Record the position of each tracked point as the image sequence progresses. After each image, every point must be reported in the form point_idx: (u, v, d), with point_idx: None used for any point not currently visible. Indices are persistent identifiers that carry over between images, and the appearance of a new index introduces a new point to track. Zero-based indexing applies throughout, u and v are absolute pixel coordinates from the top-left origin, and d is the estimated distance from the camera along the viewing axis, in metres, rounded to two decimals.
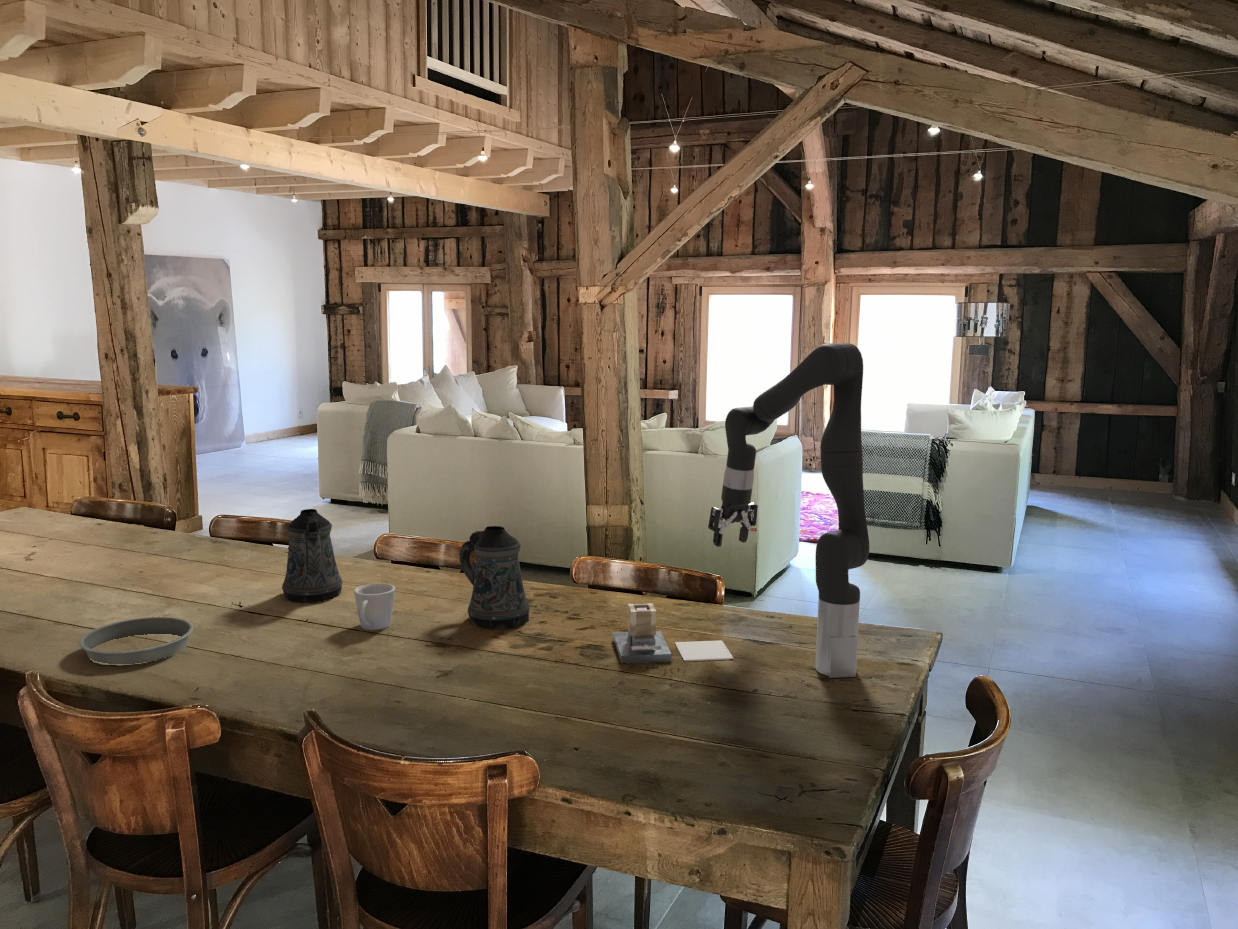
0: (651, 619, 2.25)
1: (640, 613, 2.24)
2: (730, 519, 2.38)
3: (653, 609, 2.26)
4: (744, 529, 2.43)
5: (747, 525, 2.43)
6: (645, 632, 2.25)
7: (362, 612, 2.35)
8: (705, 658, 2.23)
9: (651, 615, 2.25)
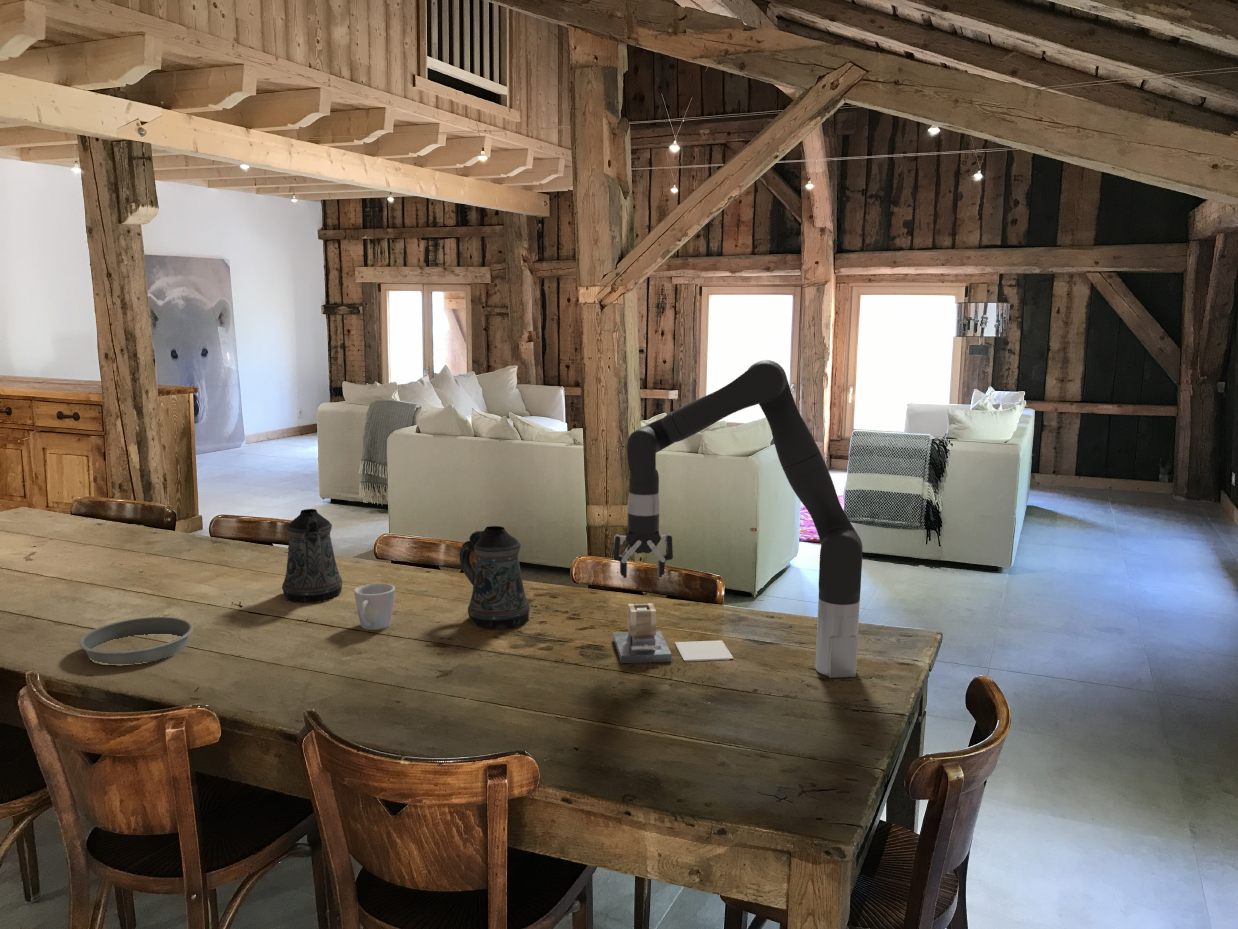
0: (651, 619, 2.25)
1: (640, 613, 2.24)
2: (633, 548, 2.23)
3: (653, 609, 2.26)
4: (659, 562, 2.25)
5: (660, 558, 2.24)
6: (645, 632, 2.25)
7: (362, 612, 2.35)
8: (705, 658, 2.23)
9: (651, 615, 2.25)
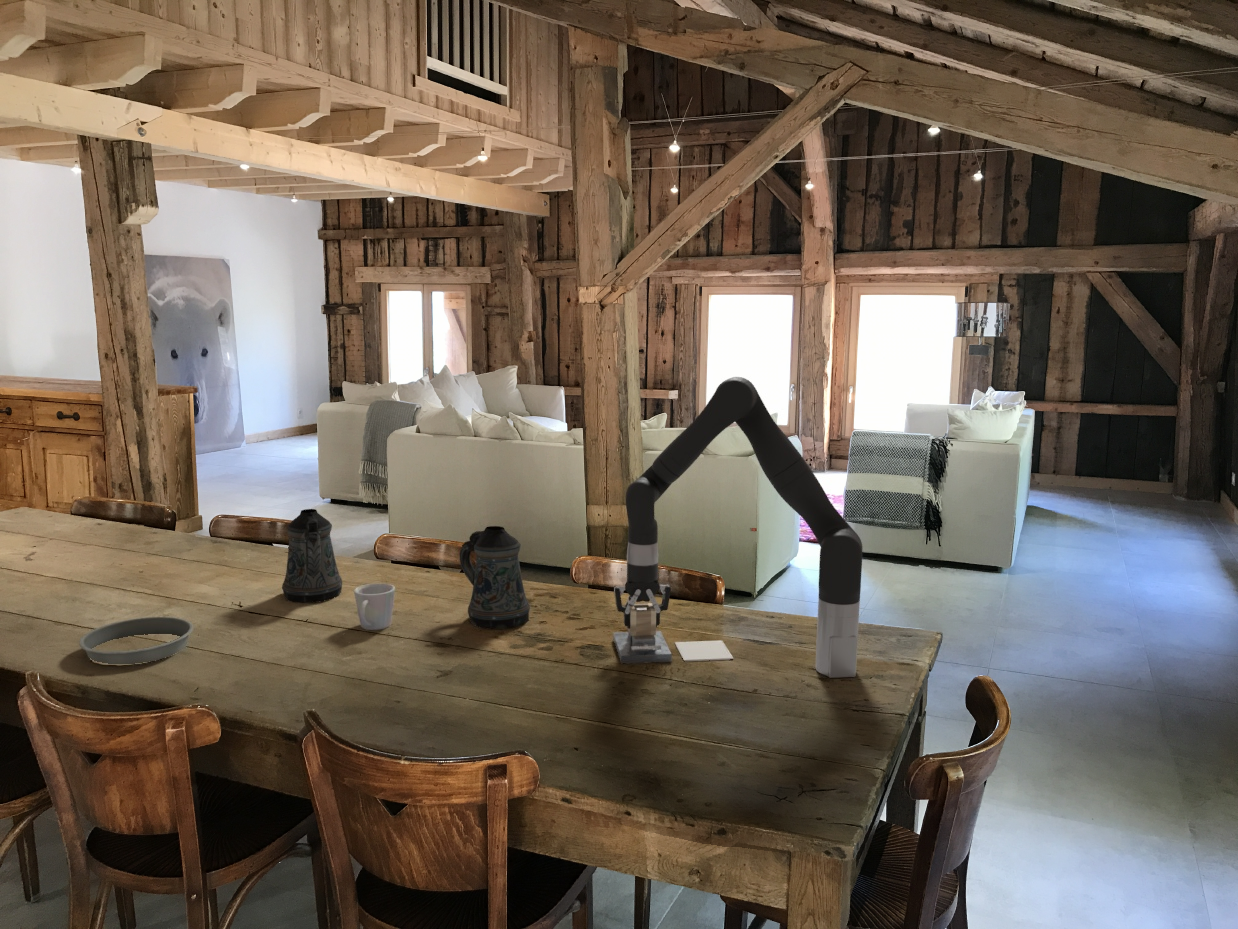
0: (651, 619, 2.25)
1: (640, 613, 2.24)
2: (634, 598, 2.25)
3: (653, 609, 2.26)
4: None
5: (656, 608, 2.26)
6: (645, 632, 2.25)
7: (362, 612, 2.35)
8: (705, 658, 2.23)
9: (651, 615, 2.25)
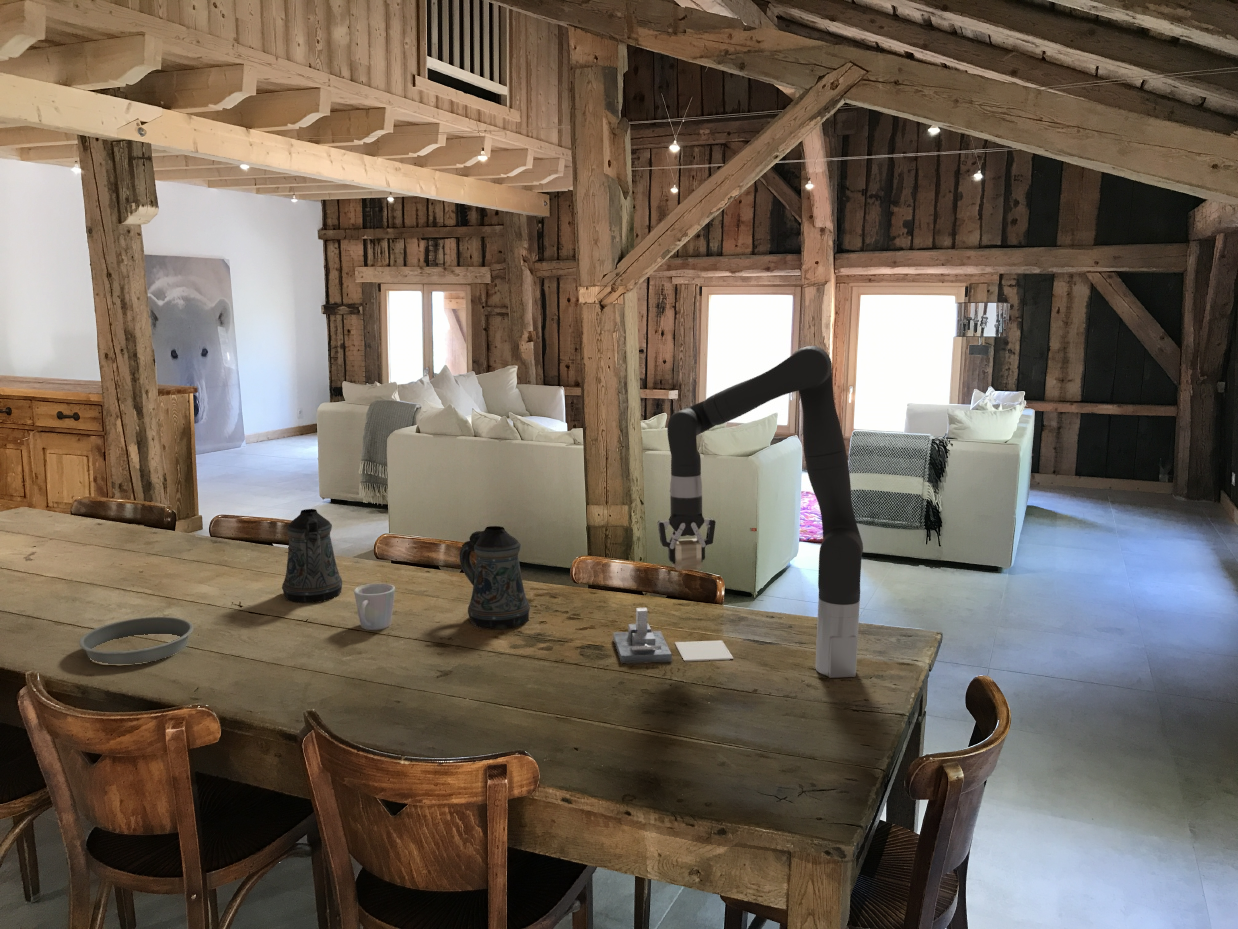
0: (696, 553, 2.22)
1: (685, 547, 2.21)
2: (678, 532, 2.22)
3: (698, 543, 2.23)
4: None
5: (701, 542, 2.23)
6: (690, 566, 2.22)
7: (362, 612, 2.35)
8: (705, 658, 2.23)
9: (696, 548, 2.22)
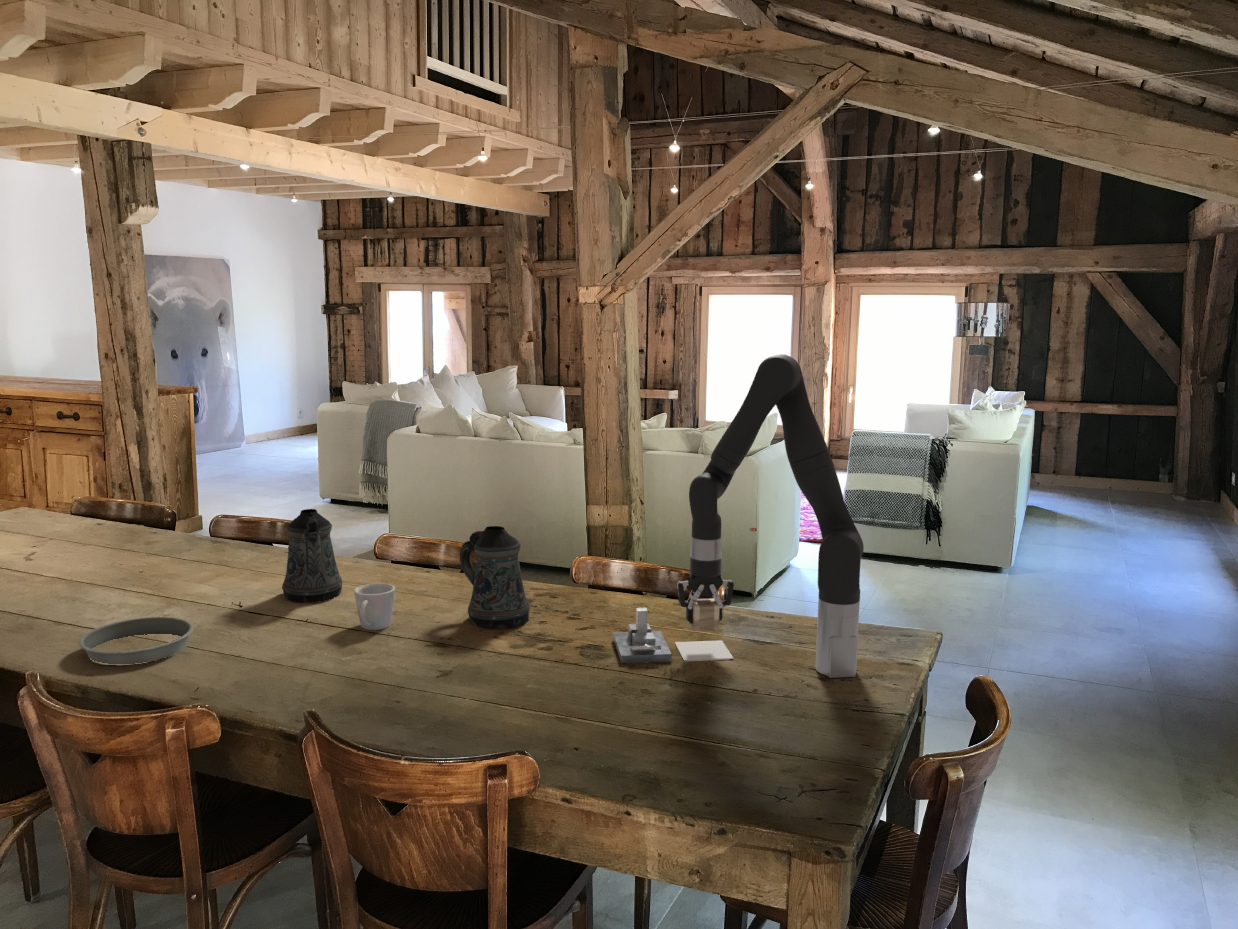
0: (714, 614, 2.25)
1: (703, 608, 2.24)
2: (697, 593, 2.24)
3: (716, 604, 2.25)
4: None
5: (718, 603, 2.26)
6: (708, 627, 2.25)
7: (362, 612, 2.35)
8: (705, 658, 2.23)
9: (714, 610, 2.24)
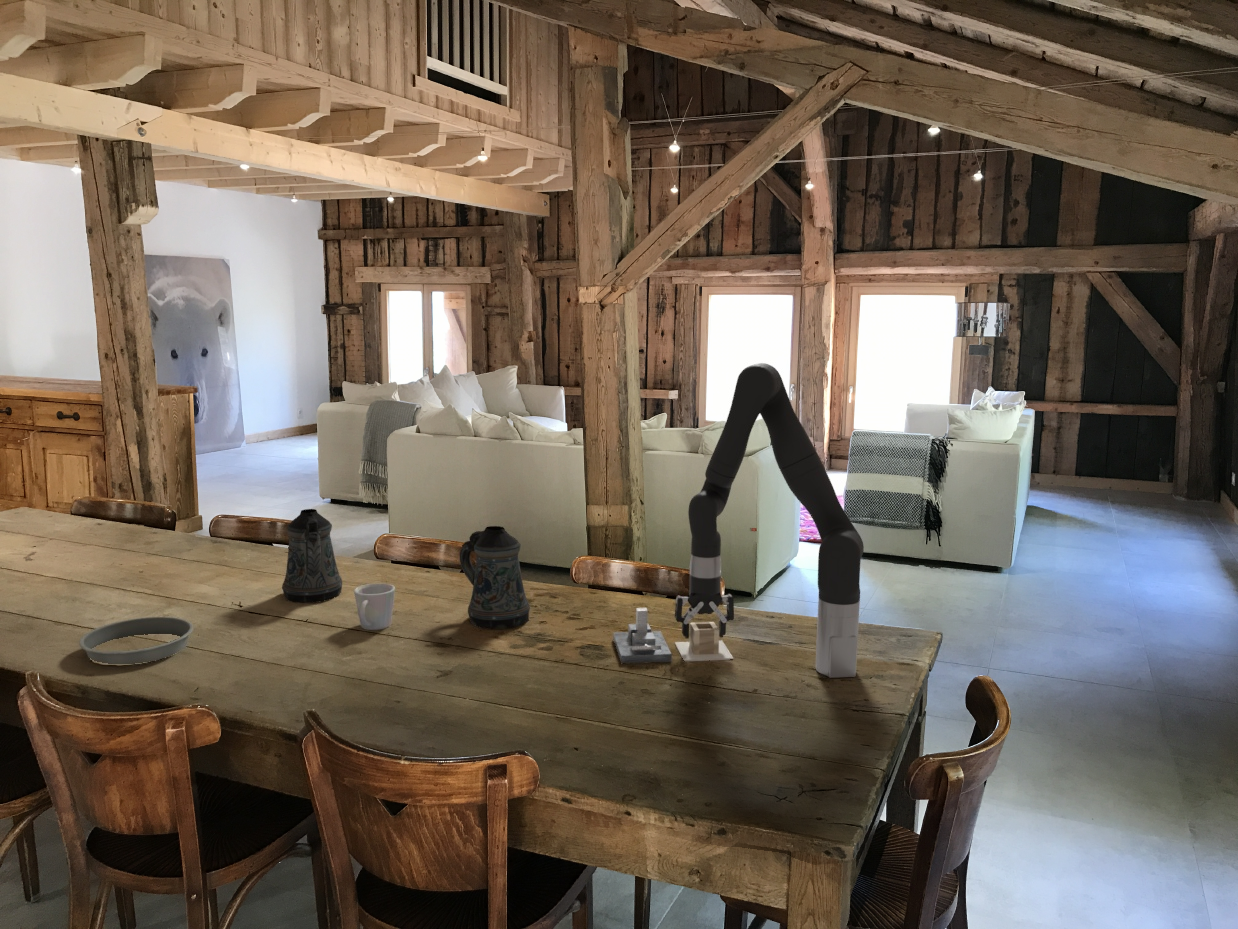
0: (714, 638, 2.26)
1: (703, 632, 2.25)
2: (695, 609, 2.25)
3: (716, 628, 2.26)
4: (720, 623, 2.28)
5: (721, 618, 2.27)
6: (708, 651, 2.26)
7: (362, 612, 2.35)
8: (705, 658, 2.23)
9: (714, 634, 2.25)
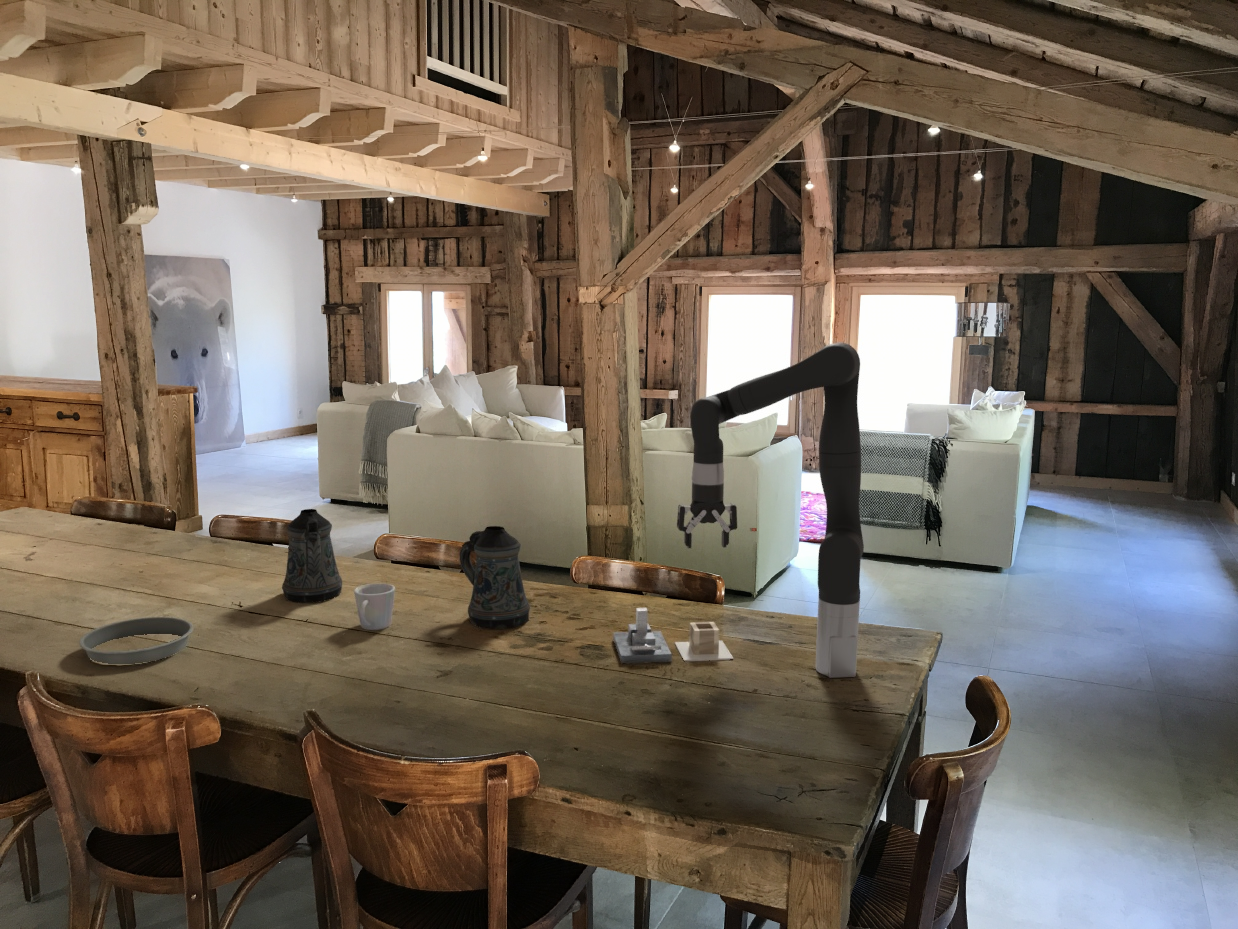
0: (714, 638, 2.26)
1: (703, 632, 2.25)
2: (698, 518, 2.22)
3: (716, 628, 2.26)
4: (723, 532, 2.25)
5: (724, 528, 2.24)
6: (708, 651, 2.26)
7: (362, 612, 2.35)
8: (705, 658, 2.23)
9: (714, 634, 2.25)
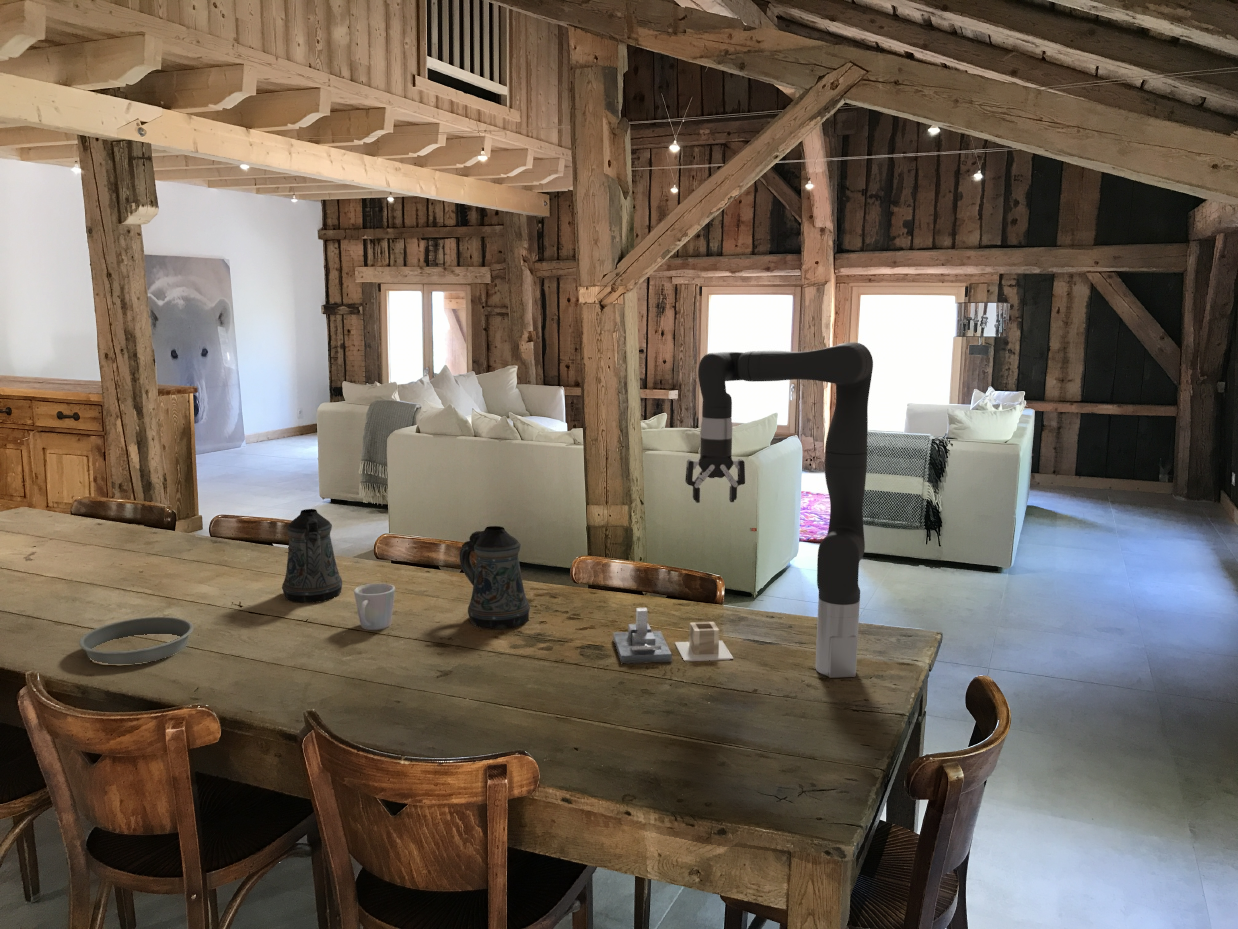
0: (714, 638, 2.26)
1: (703, 632, 2.25)
2: (706, 472, 2.25)
3: (716, 628, 2.26)
4: (731, 487, 2.28)
5: (732, 482, 2.27)
6: (708, 651, 2.26)
7: (362, 612, 2.35)
8: (705, 658, 2.23)
9: (714, 634, 2.25)
